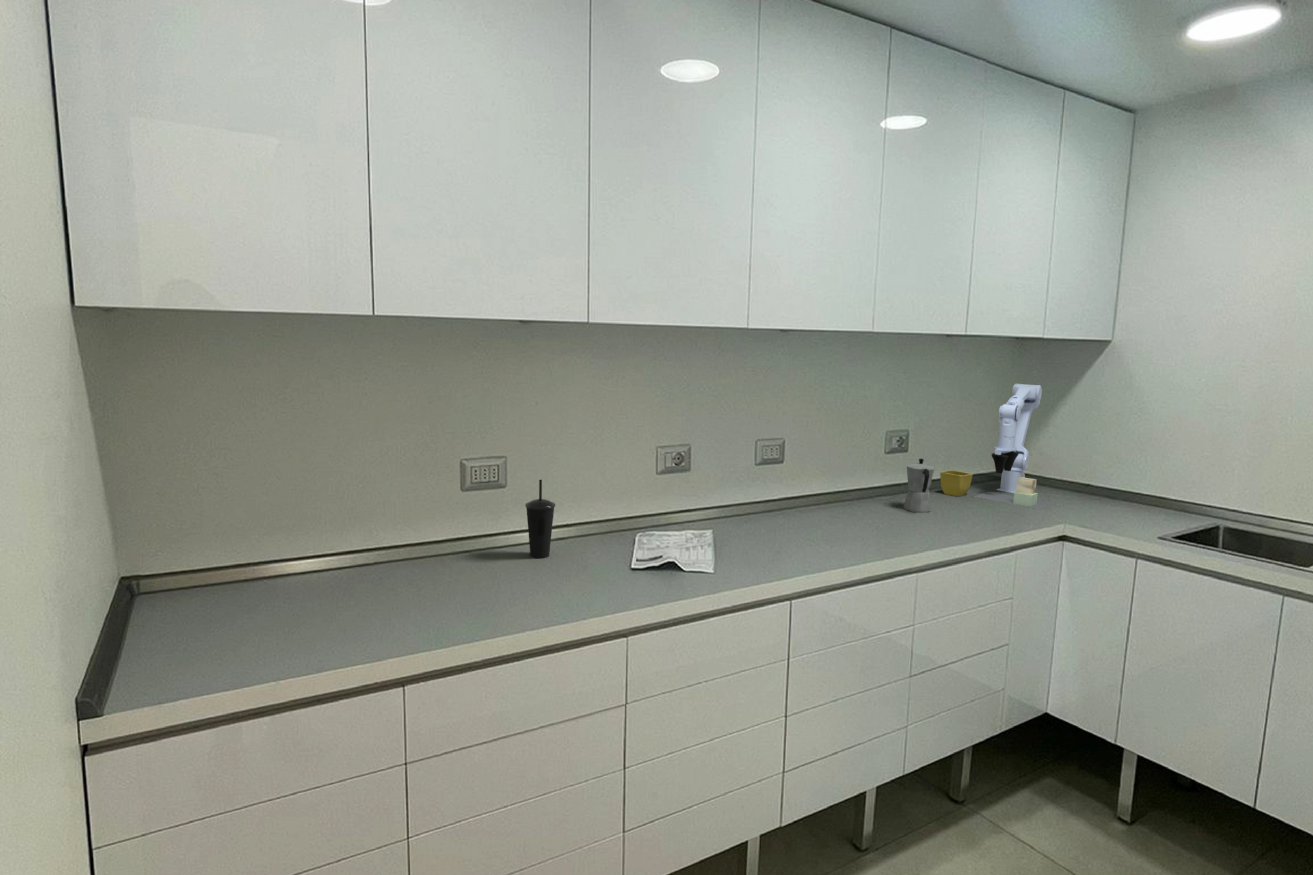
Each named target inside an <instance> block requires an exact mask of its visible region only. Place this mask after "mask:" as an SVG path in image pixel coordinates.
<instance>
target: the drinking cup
mask: <svg viewBox="0 0 1313 875" xmlns="http://www.w3.org/2000/svg"><path fill="white" fill-rule="evenodd" d="M538 482H539V483H538V484H539V485H538V486H539V487H538V489H539V490H538V495H539V496H538V498H536V499H532V500H530V501H528V502H526V503H524V504H525V505H524V506H525V507H526V520H527V521H526V522H527V529H528V531H527V532H528V541H529V542H528V544H529V553H530V554H529V555H530V557H531V556H532V557H531V558H533V557H534V558H533V559H545V557H546V558H548V557H549V556H550V550H551V541H552V533H553V532H552V531H553V523H554V514H555V508H556V503H555V502H553V501H551V500H549V499H545V498H543V495H542V494H543V479H539V480H538ZM547 556H548V557H547Z"/></svg>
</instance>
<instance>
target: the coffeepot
mask: <svg viewBox="0 0 1313 875" xmlns="http://www.w3.org/2000/svg"><path fill="white" fill-rule="evenodd" d="M918 461H919V463H914V464H913V463H912V464H907V466H906V475H907V476H906V477H907V485H908V490H907V492H906V497H905V500H904V504H903V509H904V510H906V511H909V512H912V511H913V513H929V512H931V510H932V508H931V496H930V487H931V485H932V479H933V476H934V473H935V472H934V471H935V469H936V467H934V466H931V465H928V464H924V459H923V458H919V459H918Z"/></svg>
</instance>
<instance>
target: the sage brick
mask: <svg viewBox="0 0 1313 875" xmlns="http://www.w3.org/2000/svg"><path fill="white" fill-rule="evenodd" d="M1038 494H1039V493H1037V492H1035V493H1034V494H1032V495H1028V494H1022V493H1016V492H1014V493H1013V496H1014V498H1013V503H1015V504H1020V505H1026V506H1033V505H1035V504H1037V500H1038V496H1039V495H1038Z"/></svg>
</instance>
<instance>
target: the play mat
mask: <svg viewBox="0 0 1313 875" xmlns="http://www.w3.org/2000/svg"><path fill="white" fill-rule="evenodd" d="M972 497H973V498H979V499H983V500H989V501H994V502H997V503H998V502H999V503H1003V504H1009V505H1014V506H1015V505H1016V506H1020V507H1025V508H1031V509H1034V510H1042V509H1045V508H1048V507H1051V506H1052V505H1053V506H1054V505H1055V504H1056V503H1055V502H1049V501H1043V500H1038V499H1037V504H1035V505H1033V506H1026V505H1020V504H1015V503H1013V498H1014V495H1010V494H1005V493H1001V492H1000V493H999V492H995V491H993V492H992V491H987V492H983V493H980V494H977V495H974V496H972Z"/></svg>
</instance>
